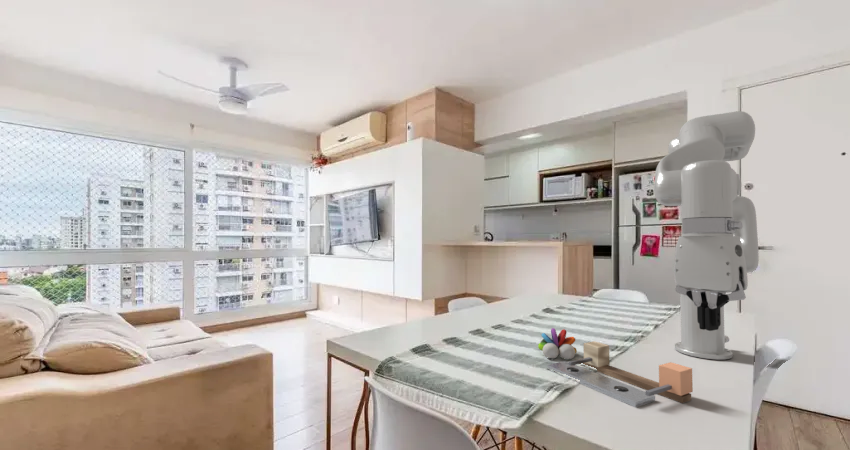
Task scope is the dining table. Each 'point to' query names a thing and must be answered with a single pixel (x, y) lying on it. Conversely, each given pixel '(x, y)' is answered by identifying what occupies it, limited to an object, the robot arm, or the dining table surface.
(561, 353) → the rainbow fan toy
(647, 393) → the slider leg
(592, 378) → the bolt-hole strip
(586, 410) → the dining table surface
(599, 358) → the rail
